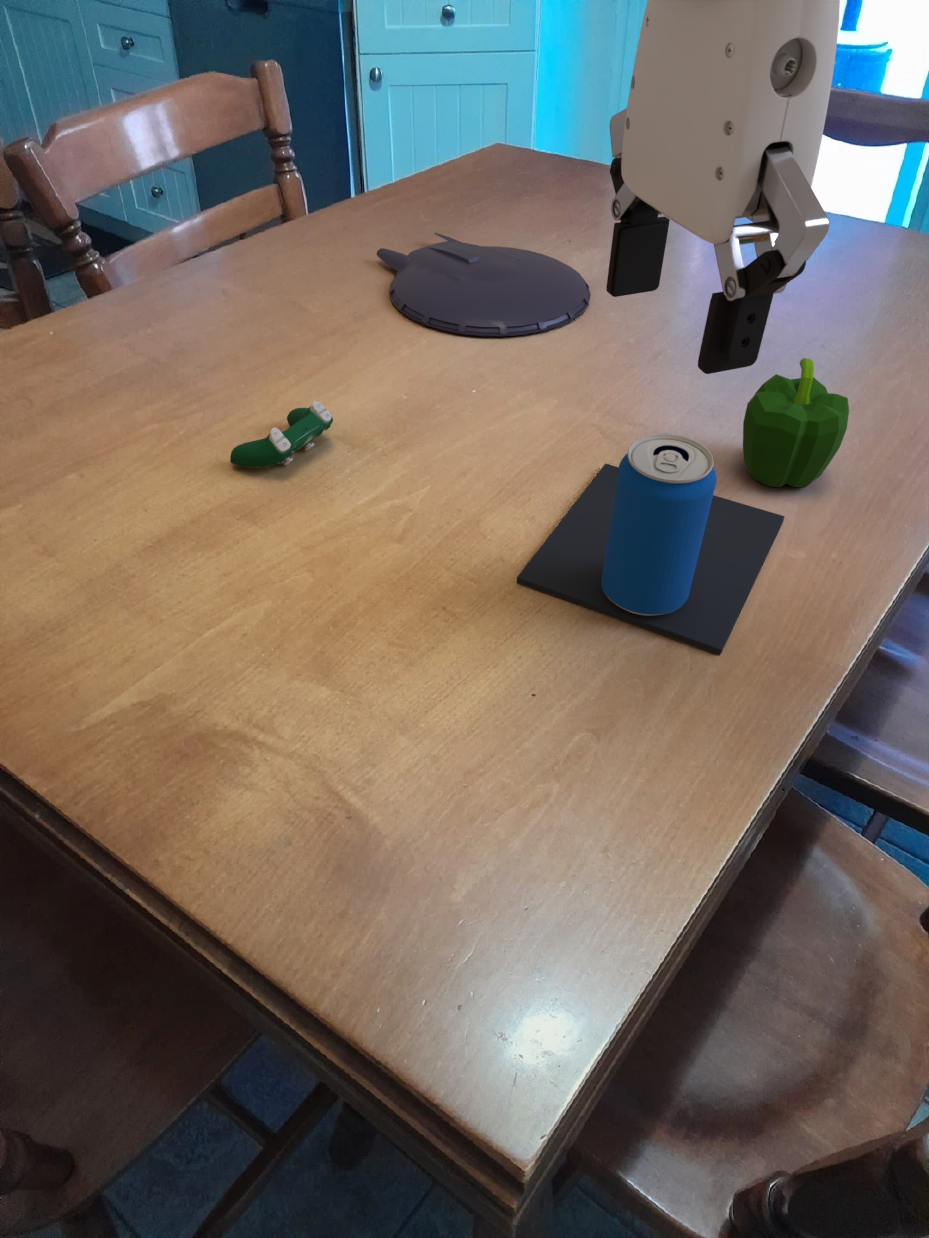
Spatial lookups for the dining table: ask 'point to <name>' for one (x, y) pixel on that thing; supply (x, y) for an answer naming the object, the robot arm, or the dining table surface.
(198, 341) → the dining table surface
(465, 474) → the dining table surface
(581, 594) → the mat
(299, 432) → the gaming controller
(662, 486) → the beverage can
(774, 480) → the bell pepper
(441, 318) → the toy spaceship
